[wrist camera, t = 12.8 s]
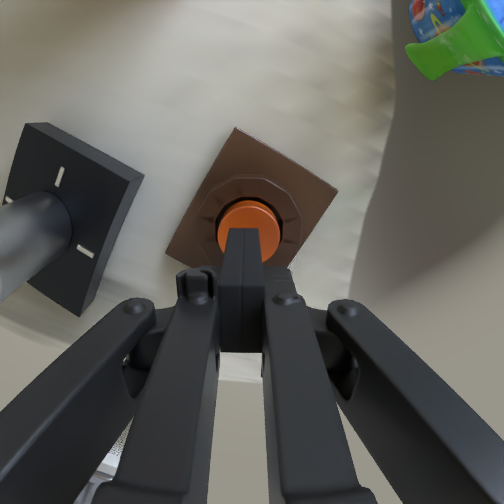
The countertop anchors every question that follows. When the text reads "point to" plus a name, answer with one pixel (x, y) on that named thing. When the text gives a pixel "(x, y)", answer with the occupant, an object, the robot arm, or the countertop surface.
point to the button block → (255, 189)
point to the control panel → (74, 207)
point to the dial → (30, 238)
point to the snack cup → (457, 37)
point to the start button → (251, 225)
